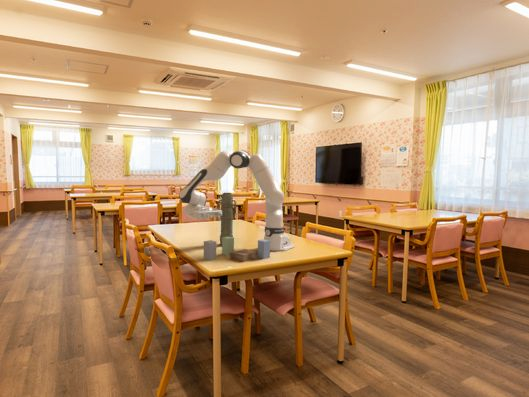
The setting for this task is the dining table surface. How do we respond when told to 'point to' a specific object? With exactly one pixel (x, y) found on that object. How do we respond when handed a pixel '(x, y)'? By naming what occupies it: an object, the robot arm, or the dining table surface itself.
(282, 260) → the dining table surface
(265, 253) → the blue block
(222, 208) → the thermos
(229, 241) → the green block
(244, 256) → the walnut brick
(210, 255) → the grey block
